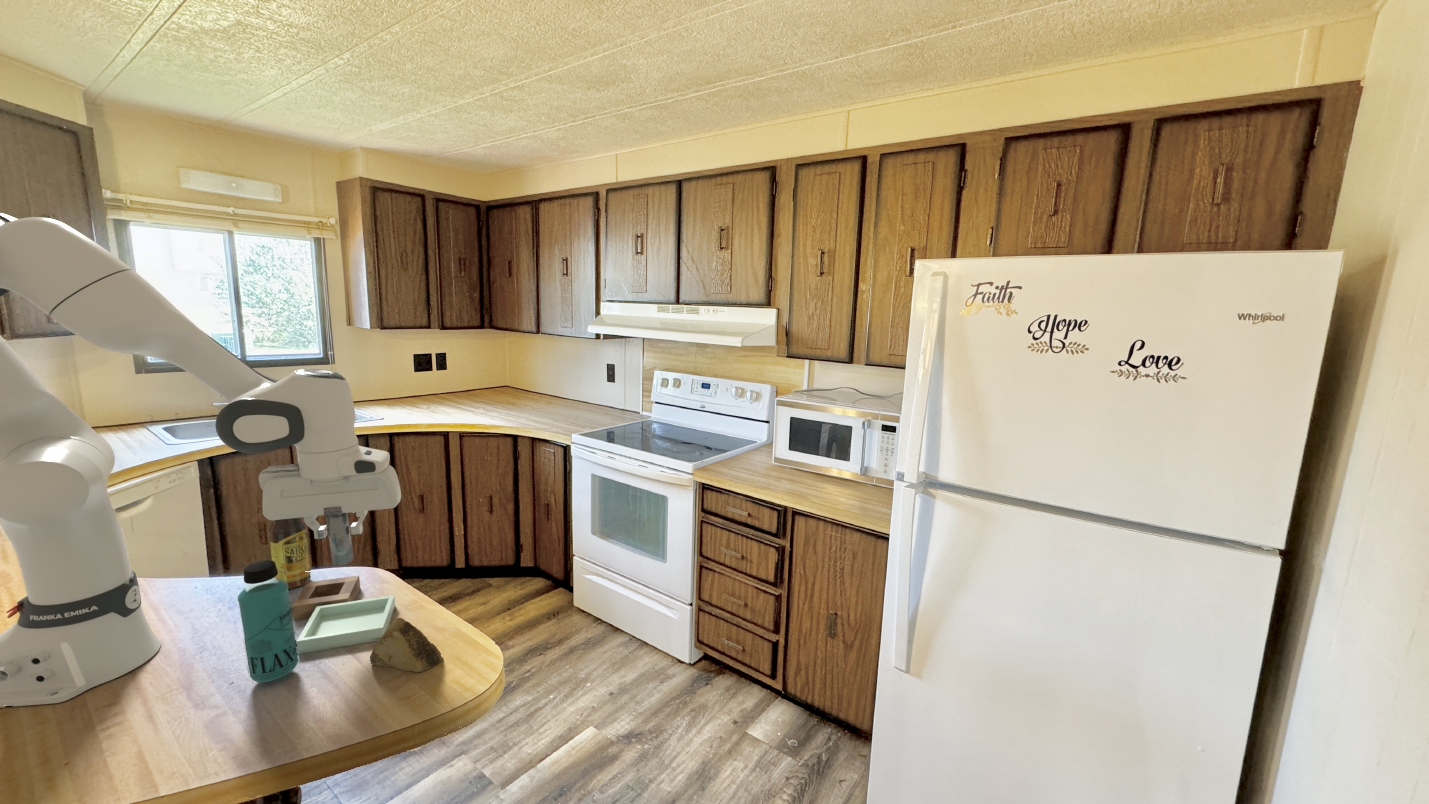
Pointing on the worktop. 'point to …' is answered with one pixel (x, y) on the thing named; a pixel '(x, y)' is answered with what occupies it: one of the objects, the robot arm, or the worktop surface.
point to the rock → (405, 649)
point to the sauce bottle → (290, 551)
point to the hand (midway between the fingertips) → (339, 535)
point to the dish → (346, 624)
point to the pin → (339, 535)
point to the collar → (325, 595)
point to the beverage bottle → (267, 623)
